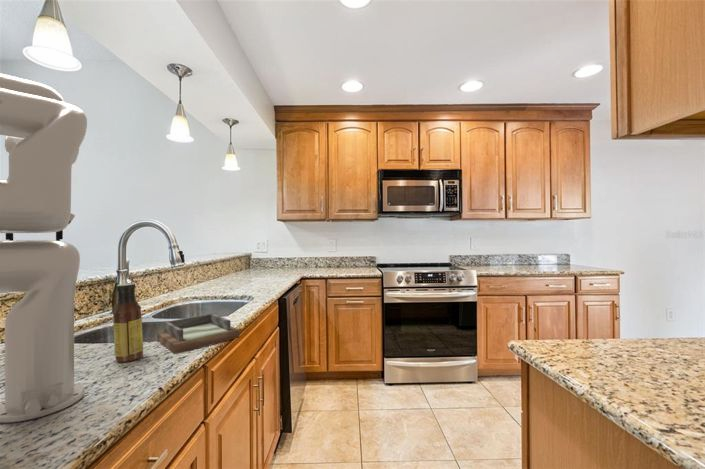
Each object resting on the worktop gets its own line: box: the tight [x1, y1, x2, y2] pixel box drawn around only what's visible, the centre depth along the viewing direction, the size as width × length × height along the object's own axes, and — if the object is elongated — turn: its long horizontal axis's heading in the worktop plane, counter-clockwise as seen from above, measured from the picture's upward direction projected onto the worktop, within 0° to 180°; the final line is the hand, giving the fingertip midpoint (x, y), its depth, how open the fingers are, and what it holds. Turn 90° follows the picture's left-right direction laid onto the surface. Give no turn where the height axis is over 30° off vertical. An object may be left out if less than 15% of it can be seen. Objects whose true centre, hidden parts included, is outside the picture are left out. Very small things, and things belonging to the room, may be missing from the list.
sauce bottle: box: [112, 282, 144, 363], centre depth 85 cm, size 6×6×20 cm
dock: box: [156, 313, 240, 355], centre depth 100 cm, size 16×19×6 cm
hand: (35, 242), depth 93 cm, fingers open, 9 cm apart
